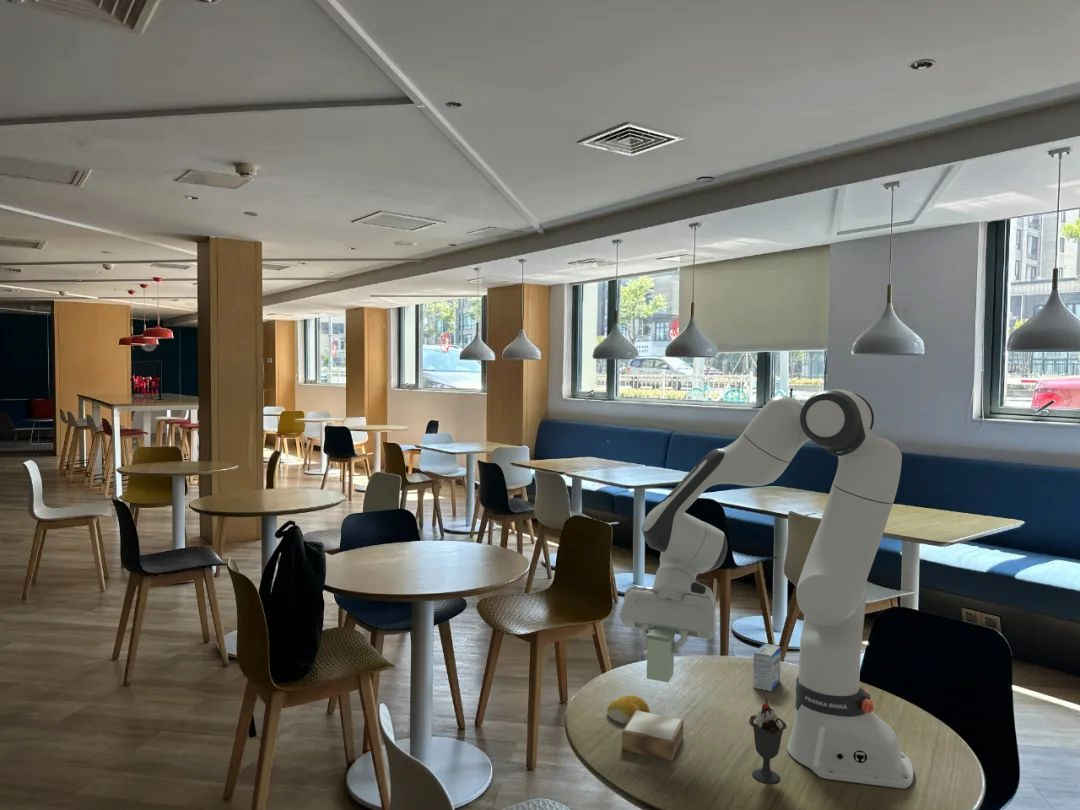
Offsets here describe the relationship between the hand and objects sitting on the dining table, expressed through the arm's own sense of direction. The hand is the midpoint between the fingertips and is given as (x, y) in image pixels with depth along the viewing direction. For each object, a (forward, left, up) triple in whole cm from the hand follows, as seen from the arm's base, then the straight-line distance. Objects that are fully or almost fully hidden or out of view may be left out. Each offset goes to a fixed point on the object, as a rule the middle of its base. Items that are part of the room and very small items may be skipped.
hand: (661, 650), depth 151 cm
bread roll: (+8, -4, -18) cm, 20 cm away
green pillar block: (0, 0, -5) cm, 5 cm away
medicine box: (-18, -35, -17) cm, 43 cm away
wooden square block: (0, +5, -17) cm, 18 cm away
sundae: (-22, +8, -17) cm, 29 cm away
